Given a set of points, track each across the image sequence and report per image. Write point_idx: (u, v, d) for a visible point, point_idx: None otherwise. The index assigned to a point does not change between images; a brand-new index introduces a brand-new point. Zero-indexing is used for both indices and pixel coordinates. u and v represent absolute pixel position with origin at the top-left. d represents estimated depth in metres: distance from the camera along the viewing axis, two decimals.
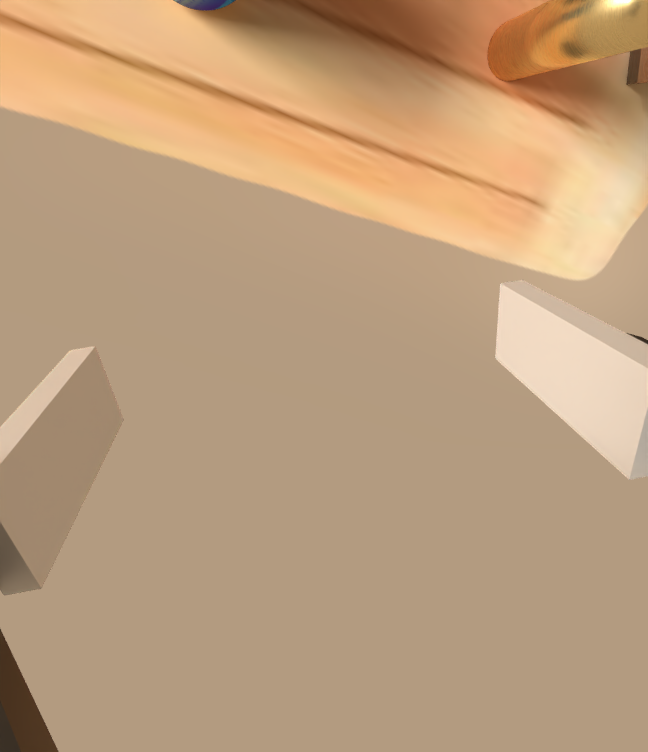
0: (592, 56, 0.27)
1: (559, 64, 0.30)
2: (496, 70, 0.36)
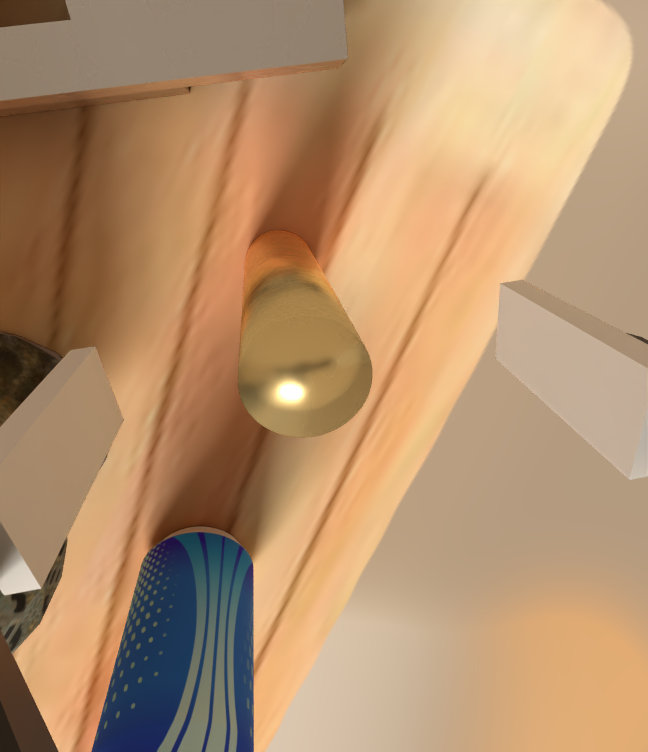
0: None
1: None
2: None
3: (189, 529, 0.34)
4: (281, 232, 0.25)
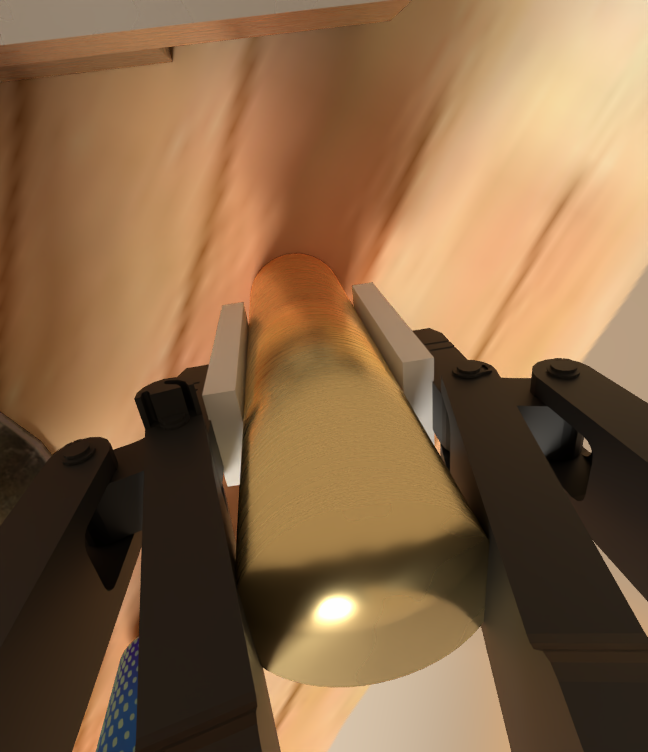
0: None
1: None
2: None
3: None
4: (299, 257, 0.18)
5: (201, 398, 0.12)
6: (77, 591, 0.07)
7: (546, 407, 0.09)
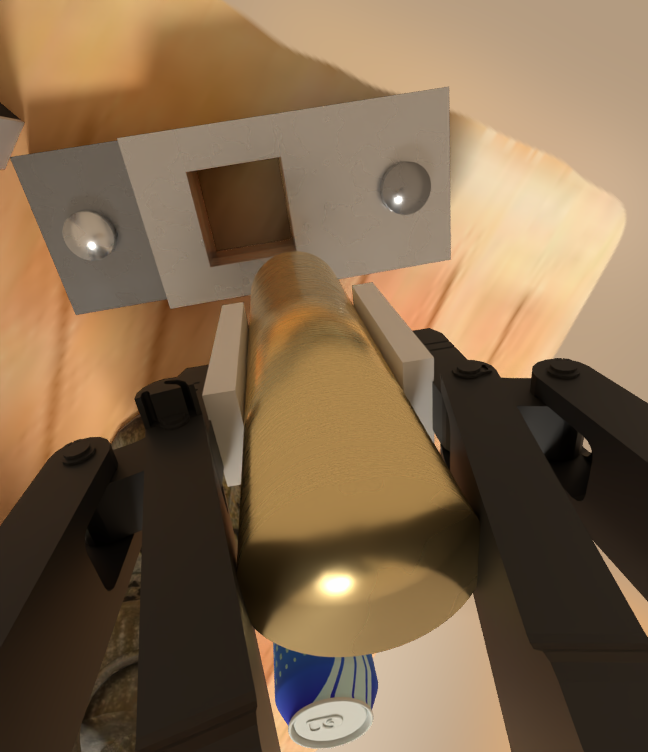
0: None
1: None
2: None
3: None
4: (299, 255, 0.19)
5: (201, 398, 0.12)
6: (77, 591, 0.07)
7: (546, 407, 0.09)
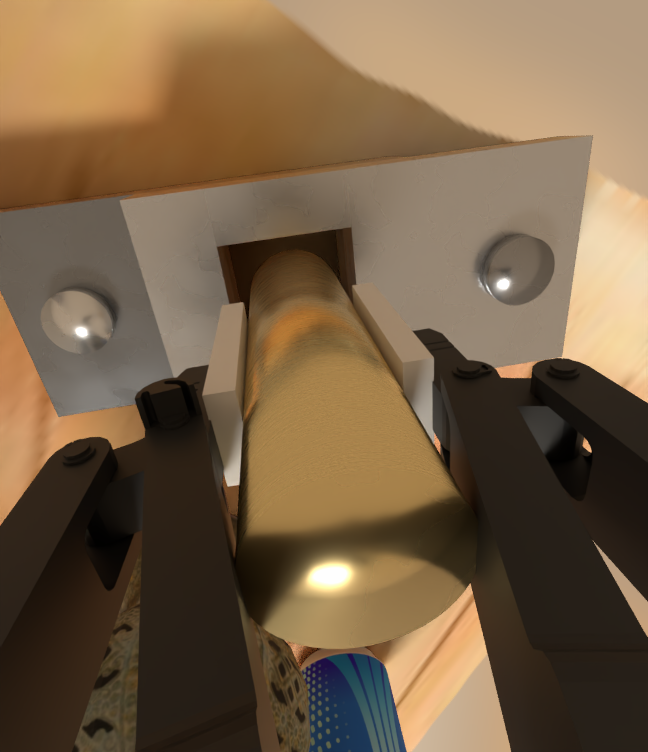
0: None
1: None
2: None
3: None
4: (298, 253, 0.19)
5: (201, 398, 0.12)
6: (77, 591, 0.07)
7: (546, 407, 0.09)
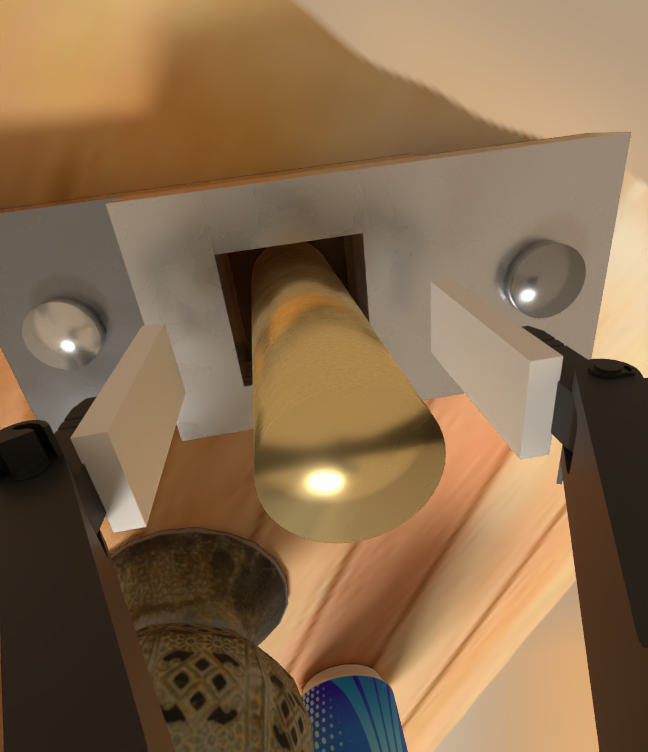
0: None
1: None
2: None
3: (340, 668, 0.37)
4: (294, 243, 0.21)
5: None
6: None
7: None
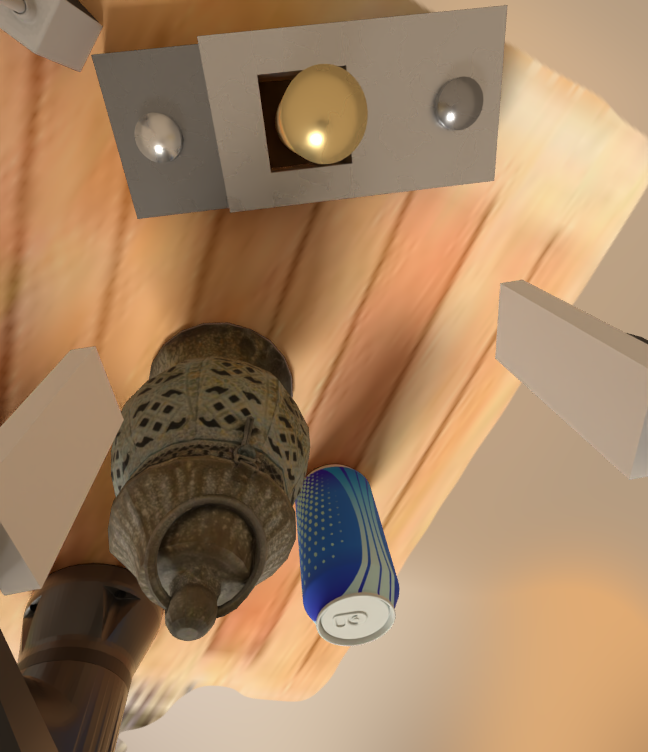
0: None
1: None
2: None
3: (330, 465, 0.49)
4: None
5: None
6: None
7: None
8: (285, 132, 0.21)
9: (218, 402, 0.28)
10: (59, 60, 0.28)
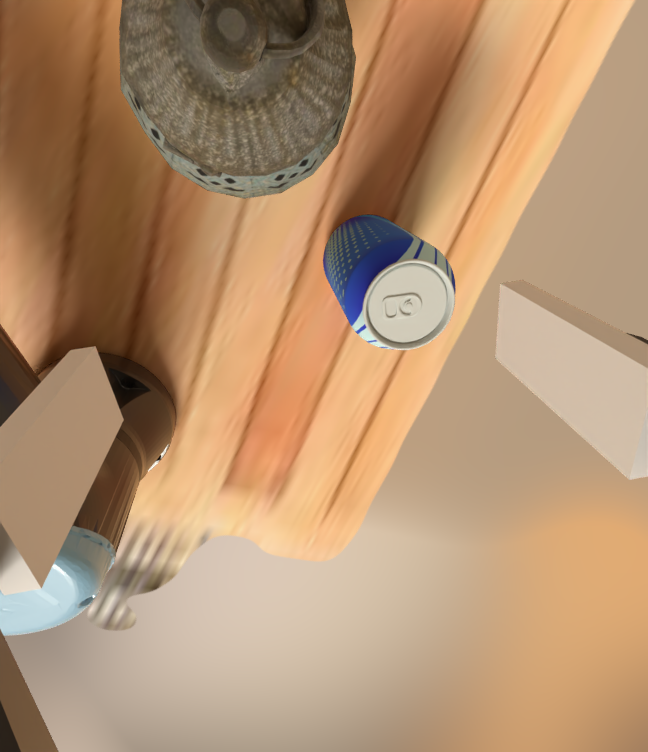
0: None
1: None
2: None
3: None
4: None
5: None
6: None
7: None
8: None
9: None
10: None
